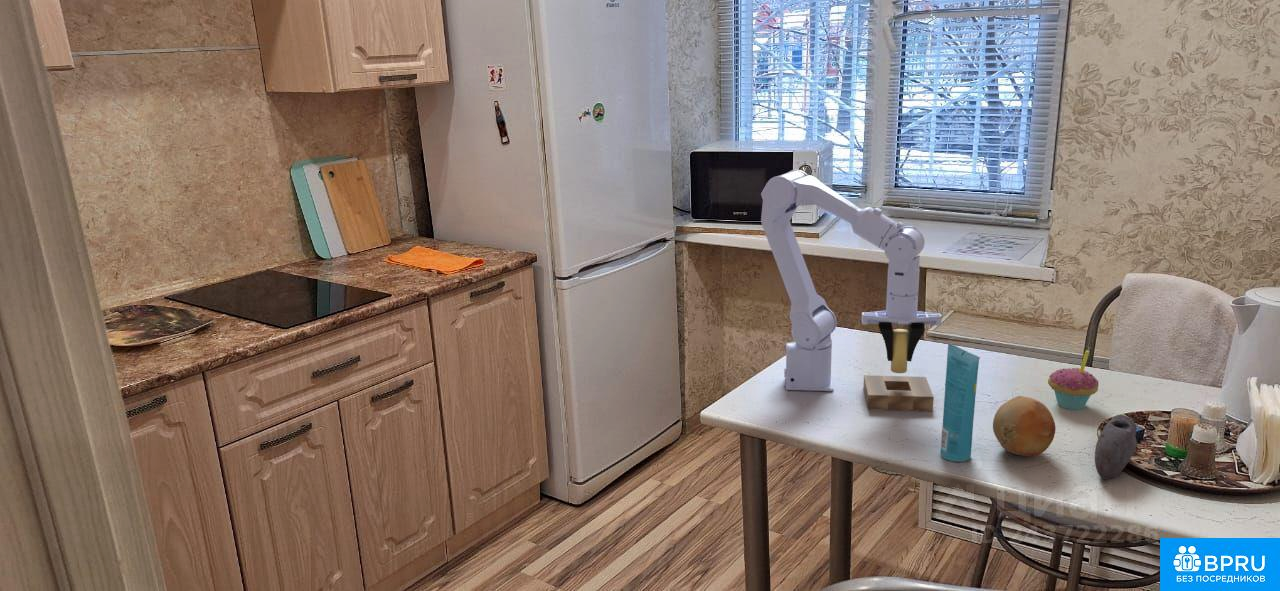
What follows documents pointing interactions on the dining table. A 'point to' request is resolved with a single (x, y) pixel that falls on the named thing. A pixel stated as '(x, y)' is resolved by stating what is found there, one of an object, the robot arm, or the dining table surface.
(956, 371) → the tube
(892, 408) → the socket
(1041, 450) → the onion
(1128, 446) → the perforated stone tool
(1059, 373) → the cupcake
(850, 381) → the dining table surface
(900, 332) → the dowel
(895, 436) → the dining table surface
